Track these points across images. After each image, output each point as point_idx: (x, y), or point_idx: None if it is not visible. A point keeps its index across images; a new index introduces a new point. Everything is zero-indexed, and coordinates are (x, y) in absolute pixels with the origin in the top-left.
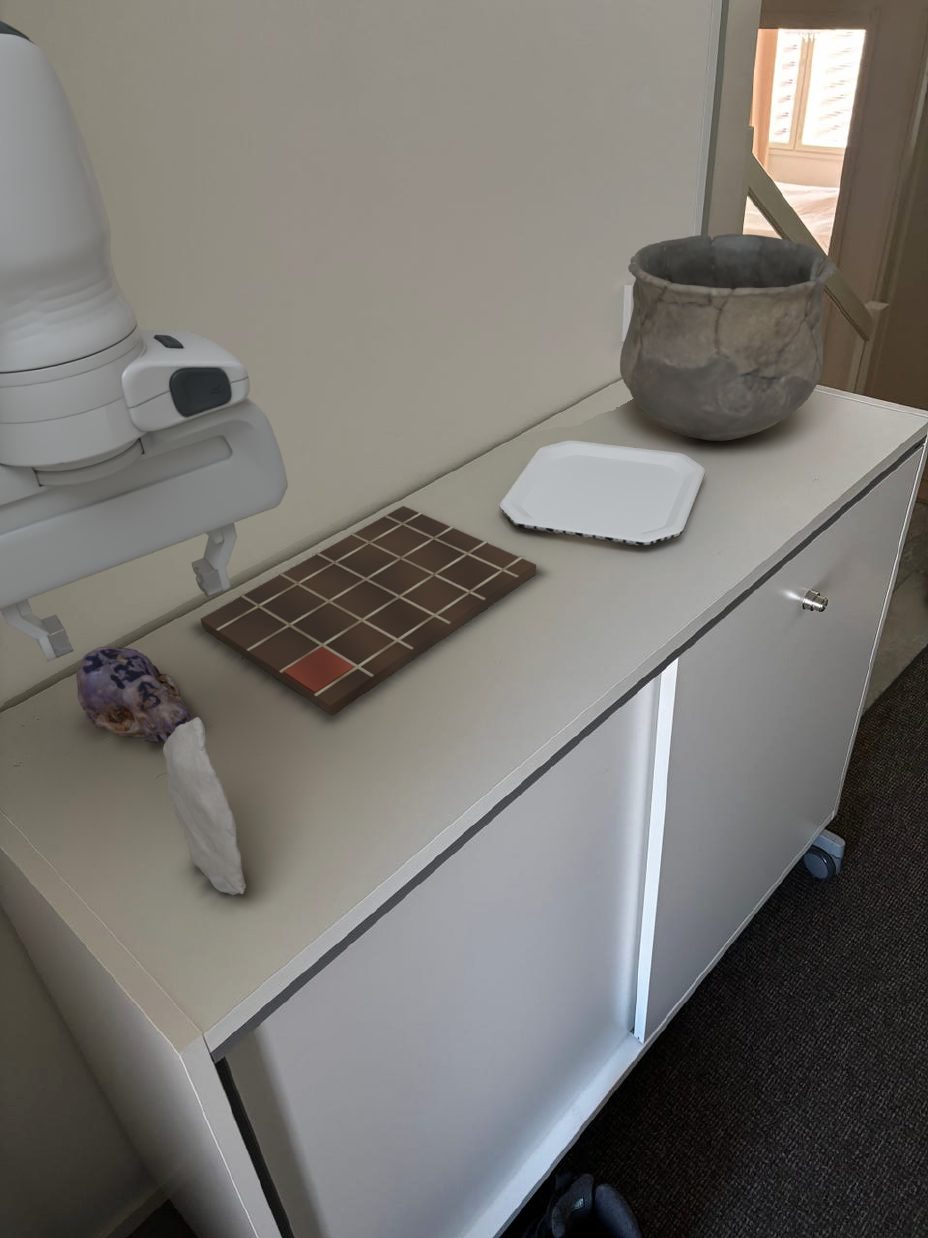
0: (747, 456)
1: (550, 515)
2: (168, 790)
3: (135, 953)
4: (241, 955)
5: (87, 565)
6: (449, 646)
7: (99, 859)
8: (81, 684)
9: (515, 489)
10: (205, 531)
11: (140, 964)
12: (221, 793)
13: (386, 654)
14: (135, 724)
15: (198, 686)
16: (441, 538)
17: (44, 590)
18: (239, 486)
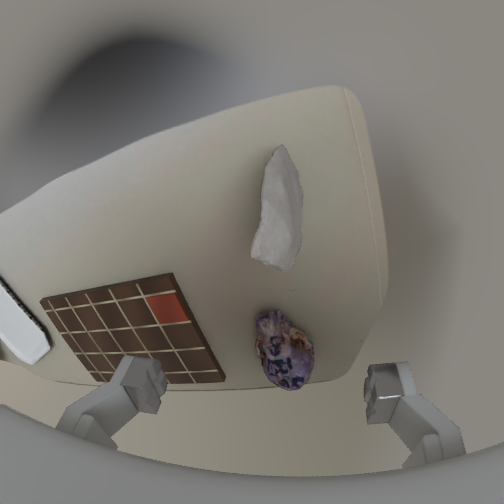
0: None
1: (30, 326)
2: (301, 240)
3: (359, 162)
4: (299, 117)
5: (311, 501)
6: (92, 280)
7: (352, 248)
8: (309, 372)
9: (42, 351)
10: (81, 443)
11: (359, 152)
12: (265, 183)
13: (124, 294)
14: (291, 332)
15: (243, 341)
16: (80, 350)
17: (406, 473)
18: (4, 461)
